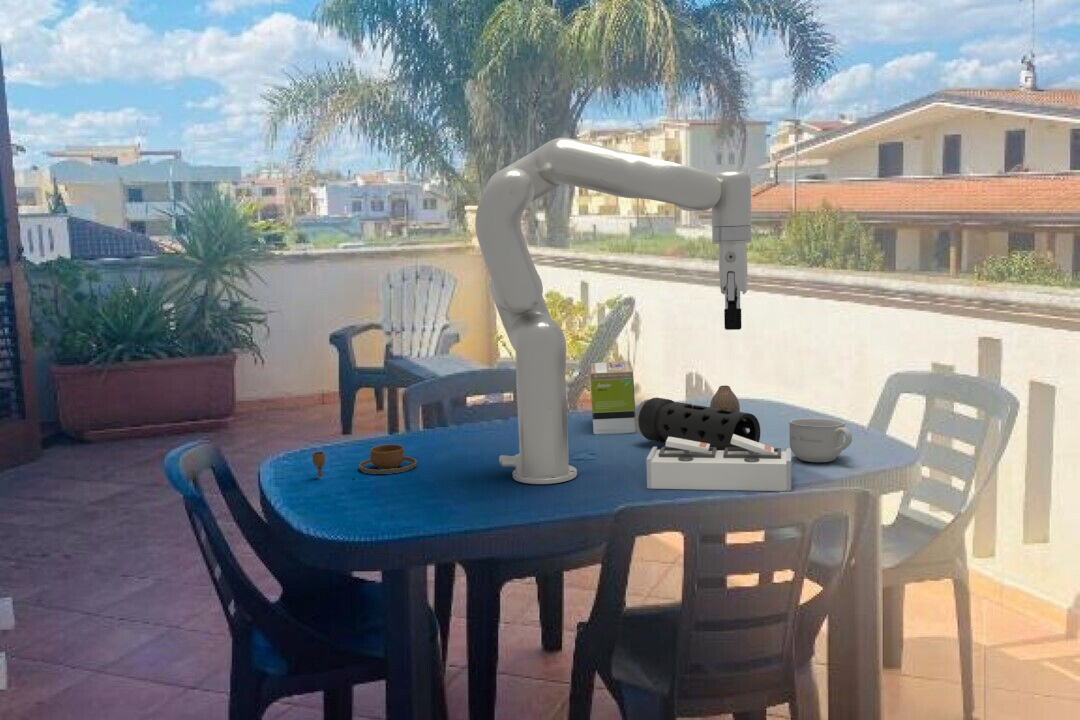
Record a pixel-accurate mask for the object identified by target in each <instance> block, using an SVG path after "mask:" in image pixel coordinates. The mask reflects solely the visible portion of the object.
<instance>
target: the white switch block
mask: <svg viewBox="0 0 1080 720" xmlns="http://www.w3.org/2000/svg"><path fill="white" fill-rule="evenodd" d="M773 448H774V454H773V455H763V454H760V453H757V452H754V453H753V454H749V453H748V449H745V448H730V447H725V450H724V451H723V450H717V447H709V451H708V454H706V453H700V452H695V451H689V453H684V451H683V449H678V448H673V447H667V446H662V447H661V448H660V449H658V446H652V448H651V449H650V451H649V452H648V454H647V457H646V459H645V460H646V488H647V489H656V490H658V489H662V490H700V491H701V490H705V491H707V490H710V491H755V492H757V491H758V492H759V491H760V492H761V491H762V492H768V491H769V492H786V491H785V490H791V491H792V451H791V448H790V447H786V450H782V448H781V447H773Z"/></svg>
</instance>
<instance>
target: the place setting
mask: <svg viewBox="0 0 1080 720" xmlns="http://www.w3.org/2000/svg"><path fill="white" fill-rule="evenodd" d="M404 448H405V447H404V446H403V445H400V444H382V445H376V446H373V447H371V448H370V449H369V455H370V459H366V460H363V461H361V462H360V463H359V464H358V468H359V470H361V471H363V472H367V473H376V474H377V473H378V474H383V473H395V472H402V471H407V470H410V469H412V468H414V467H415V468H416V467H417V462H418V461H417V459H416V458H413V457H410V456H405V449H404ZM325 453H326V452H324V451H314V452H313V453H311V455H312V456H311V457H312V462H313V463H312V465H314V467H317V473H316V474H317V475H316V476H317V477H318V478H319V477H321V476H322V477H323V474H324V473H323V471H322V469H323V468H322V467H323V466H325V464H326V454H325ZM403 461H409V462H412V463H413V464H409V465H406V466H402V467H399V466H400V465H402V464H403V463H404V462H403ZM371 462H372V464H373V465H374V466H375V467H377V468H378V469H372V468H371V469H370V468H367V467H365V468H363V467H362V466H364V465H366V464H369V463H371ZM373 465H372V466H373ZM396 467H398V468H396ZM379 468H380V469H385V470H379ZM391 468H396V469H391ZM415 468H414V469H415ZM412 470H413V469H412ZM361 471H360V472H361ZM410 471H411V470H410ZM363 472H362V473H363ZM407 472H408V471H407Z"/></svg>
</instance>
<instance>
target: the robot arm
mask: <svg viewBox="0 0 1080 720" xmlns="http://www.w3.org/2000/svg"><path fill="white" fill-rule="evenodd" d="M560 185H568V186H572V187H577V188H581V189H585V190H590V191H593V192H596V193H597V192H598V193H601V194H606V195H609V196H615V197H620V198H624V199H625V198H627V199H643V200H650V201H651V200H652V201H656V202H662V203H665V204H666V203H668V204H671V205H674V206H675V207H677V208H678V209H680V210H681V211H686V212H702V211H703V212H704V211H708V210H710V209H711V226H712V227H711V229H712V231H711V232H712V233H711V234H712V238H711V239H712V241H711V242H712V244H713V245H718V274H719V284H720V285H719V286H720V293H721V294H722V295H724V311H723V313H724V314H723V315H724V330H727V331H733V330H734V331H735V330H741V329H742V308H741V292H742V295H745V294H746V293H747V291H748V290H749V289H748V288H749V287H748V283H749V282H748V252H747V249H748V248H747V244H750V243H752V241H753V240H752V181H751V176H750V174H749V172H746V171H743V170H734V171H733V170H731V171H730V170H728V171H718V172H716V173H712V172H710V171H708V170H705V169H701V168H697V167H692V166H688V165H685V164H681V163H676V162H672V161H667V160H661V159H657V158H654V157H648V156H646V155H641V154H638V153H634V152H633V153H632V152H628V151H625V150H620V149H615V148H611V147H607V146H603V145H600V144H596V143H592V142H587V141H583V140H579V139H574V138H569V137H558V138H553V139H552V140H550V141H548V142H546V143H543V145H541V146H540V147H538V148H537V149H535V150H533V151H532V152H530V153H528V154H527V155H525V156H523V157H522V158H519V159H518V160H516V161H514V162H512V163H511V164H509V165H508V166H505V167H504V168H502V169H501V170H499V171H497V172H495V173H494V174H493V175H492V176H491V177H490V178H489V180H488V181H487V183H486V188H485V190H484V191H483V193H482V194H481V197H480V199H479V201H478V205H477V208H476V212H475V220H474V221H475V222H474V223H475V224H474V225H475V226H474V227H475V233H476V238H477V241H478V244H479V247H480V251H481V252H482V253H481V254H482V256H483V260H484V263H485V265H486V268H487V271H488V273H489V276H490V282H489V283H490V284H489V285H490V286H489V287H490V293H491V296H492V299H493V303H494V305H495V307H496V310H497V312H498V314H499V317H500V320H501V323H502V325H503V328H504V330H505V333H506V335H507V338H508V340H509V342H510V343H509V344H510V345H511V347H512V348H513V350H514V351H515V362H516V363H515V364H516V365H515V366H516V368H515V372H516V373H515V375H516V376H515V377H516V379H515V380H516V381H515V382H516V383H515V384H516V402H517V404H516V405H517V423H518V447H519V450H518V451H519V452H518V453H517V454H516V453H515V454H514V455H499V458H498V462H499V463H498V464H499V466H502V467H503V468H509V467H511V468H513V469H514V470H513V471H512V478H513V480H515V481H516V482H518V483H523V484H530V485H553V484H559V483H564V482H567V481H571V480H573V479H575V478H576V477H577V475H578V473H577V472H578V470H577V468H576V467H574V466H573V465H570V464H569V463H570V462H569V461H570V460H569V458H570V457H569V440H568V439H569V436H568V435H569V434H568V412H567V411H568V409H567V391H566V390H567V389H566V388H567V387H566V384H567V382H566V368H567V367H566V364H567V363H566V362H567V342H566V341H567V340H566V336H565V334H564V332H563V330H562V327H561V326H560V325H559V324H558V323H557V322H556V321H555V320H554V319H553V318H552V317H551V315H550V311H549V309H548V307H547V303H546V301H545V299H544V296H543V294H544V293H543V292H544V291H543V290H544V286H543V281H542V279H541V276H540V275H539V273H538V270H537V268H536V266H535V264H534V261H533V258H532V256H531V254H530V252H529V251H530V250H529V248H528V246H527V242H526V239H525V236H524V234H523V230H522V229H523V228H522V217H523V214H524V211H525V210H526V209H528V208H529V207H530V204H531V203H532V202H534V201H536V200H538V199H539V198H541V197H543V196H545V195H547V194H549V193H550V192H552V190H554V189H556V188H558V187H560Z"/></svg>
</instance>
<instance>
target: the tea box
mask: <svg viewBox="0 0 1080 720" xmlns="http://www.w3.org/2000/svg"><path fill="white" fill-rule="evenodd" d="M634 380H635V379H634V371H633V368H632V365H631V361H630V360H627V361H607V362H606V361H605V362H591V363H590V396H591V398H590V399H591V414H592V415H591V416H592V429H593V430H592V431H593V434H594V435H616V434H617V435H619V434H635V433H636V431H637V429H636V427H635V421H634V420H635V413H636V405H635V403H636V402H635V401H636V400H635V399H636V398H635V382H634Z"/></svg>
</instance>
